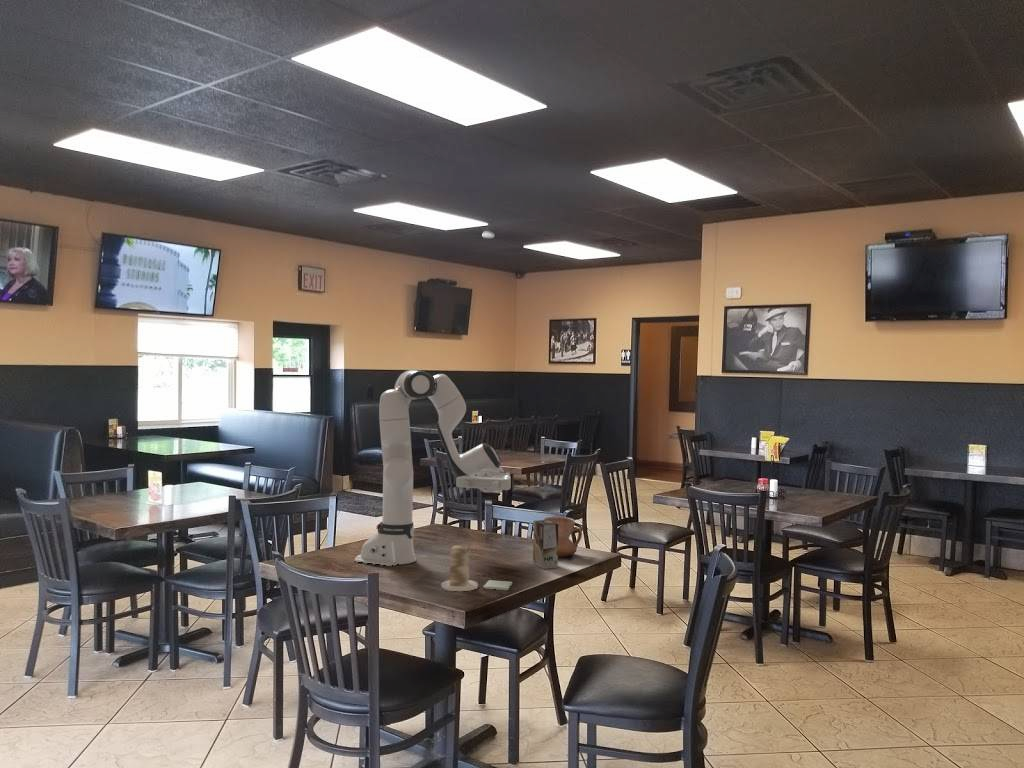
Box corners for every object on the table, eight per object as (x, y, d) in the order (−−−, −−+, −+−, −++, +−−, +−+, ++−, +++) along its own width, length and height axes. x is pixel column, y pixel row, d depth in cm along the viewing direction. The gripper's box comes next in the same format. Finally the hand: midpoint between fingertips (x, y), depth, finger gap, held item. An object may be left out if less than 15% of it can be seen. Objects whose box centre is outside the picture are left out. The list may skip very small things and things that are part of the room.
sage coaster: (483, 588, 247) (483, 586, 247) (488, 582, 255) (488, 580, 255) (507, 590, 245) (507, 587, 245) (512, 584, 253) (512, 581, 253)
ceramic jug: (539, 560, 288) (541, 522, 288) (532, 551, 302) (534, 515, 302) (586, 560, 291) (587, 523, 291) (577, 551, 305) (578, 516, 305)
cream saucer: (436, 590, 244) (436, 587, 244) (446, 581, 255) (446, 578, 255) (473, 593, 241) (473, 590, 241) (481, 583, 253) (481, 580, 253)
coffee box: (558, 567, 276) (559, 523, 276) (542, 569, 274) (543, 524, 274) (547, 562, 285) (548, 519, 285) (531, 563, 282) (532, 520, 282)
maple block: (449, 585, 246) (450, 548, 246) (454, 581, 251) (454, 545, 251) (464, 586, 245) (465, 549, 245) (468, 582, 250) (469, 546, 250)
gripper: (461, 471, 289) (451, 475, 276) (513, 472, 286) (506, 477, 272) (460, 487, 289) (451, 492, 276) (513, 489, 286) (506, 494, 272)
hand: (479, 485), depth 274 cm, fingers open, 8 cm apart
